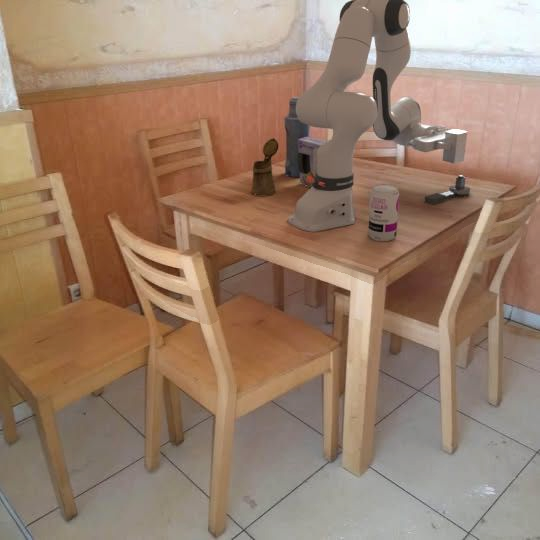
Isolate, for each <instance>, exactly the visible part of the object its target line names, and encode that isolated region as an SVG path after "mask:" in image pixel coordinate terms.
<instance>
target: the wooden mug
mask: <svg viewBox="0 0 540 540" xmlns="http://www.w3.org/2000/svg"><path fill="white" fill-rule="evenodd" d="M278 150H279V143H278V140H277V139H275V138H274V137H273V138H271V139H268V141H266V142H265V143H264V145H263V147H262V153H263V155H264V159H263V160H257V161H254V162H253V166H252V172H253V176H252V187H251V192H252V193H253V194H256V195H255V196H257V195H269V196H271V195H270V194H272V195H274V194H276V192H277V191H276V186H275V182H274V176H273V166H272V157H273V156H275V155H276V154H277V152H278ZM275 191H276V192H275ZM252 193H251V194H252ZM273 193H274V194H273ZM253 194H252V195H253Z"/></svg>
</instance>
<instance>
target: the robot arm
mask: <svg viewBox="0 0 540 540" xmlns="http://www.w3.org/2000/svg"><path fill="white" fill-rule="evenodd" d="M410 18H411V10H410V6H409V4H408V2H407V1H406V0H349V1H347V2H345V3H344V5H343V6H342V8H341V9H340V12H339V18H338V19H339V22H338V23H339V24H338V25H337V29H336V32H335V34H334V37H333V38H334V39H333V42H332V45H331V50H330V53H329V56H328V57H329V58H328V61H327V63H326V66H325V68H324V71H323V73H322V74H321V75H320V77H319V78H318V80H316V82H315V83H314V84H313V85H312V86H310V87H309V88H308V89H307V90H305V91H304V92H302V93H301V94H299V96H298V97H299V98H298V100H297V104H296V114H297V117H298V119H299V120H300V122H302V123H304V124H307V125H310V127H313V128H319V129H321V128H322V129H329V130H332V137H331V139H329V140H326V141H325V143H323V144H322V145H321V146H320V147H319V149H318V151H317V173H316V175H315V177H314V178H313V177H310V176H308V177H307V178H306V180H307V182H308V183H311V184H312V183H313V184H312V187H311V188H310V187H309V189H308V190H307V191H306V192H305V194H303V195H302V196H301V198H299V199H298V200H297V202H296V204H295V209H294V214H291V215H289V216H287V222H288V224H290V225H291V226H293V227H295V228H298V229H300V230H303V231H306V232H312V233H313V232H314V233H315V232H320V231H326V230H330V229H336V228H340V227H346V226H350V225H354V224H355V223H356V220H355V219H356V218H357V214H356V210H355V206H354V205H355V204H354V197H353V196H354V195H353V186H354V182H355V181H354V172H353V166H354V165H353V164H354V153H355V148H356V145H357V143H358V141H359V139H360V138H361V137H362V135H363V134H364V133H365V132H367V131H368V130H370V129H371V128H373V132H374V134H375V135H376V137H377V138H378V139H380V140H383V141H391V142H392V143H395V144H397V145H399V146H402V147H406V148H408V147H411V148H412V149H414V150H416V151H417V152H418V151H419V152H422V153H430V152H433V151H436V150H444V149H447V150H449V149H452V144H450V143H444V141H445V132H446V131H450V130H454V129H452V128H446V126H444V125H429V124H428V125H427V124H422V123H421V122H422V113H421V107H420V104H419V102H418V101H417V100H416V99H415V98H412V97H410V96H403V97H400V98H399V99H398V100H397V101H395V102H394V103H392V99H391V98H392V97H391V91H392V89H393V85H394V83H395V82H396V80H397V78H398V77H399V75H400V74H401V73H402V72H403V70H404V69H405V68H406V67H407V65H408V63H409V61H410V59H411V55H412V54H411V53H412V49H411V40H410V34H409V29H408V26H409V23H410ZM373 39H374V47H375V55H376V58H375V59H376V60H375V65H374V66H375V67H374V71H373V74H372V96H370V95H367V94H364V93H361V92H357V91H355V92H354V91H345V90H346V89H347V88H348V87H349V86H350V85H352V84H353V83H356V82H357V81H359V80H360V79H361V78H362V77H363V75H364V74H365V70H366V66H367V63H368V57H369V55H370V54H369V53H370V50H371V46H372V42H373Z"/></svg>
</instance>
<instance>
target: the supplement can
mask: <svg viewBox="0 0 540 540" xmlns="http://www.w3.org/2000/svg"><path fill="white" fill-rule="evenodd" d="M399 205H400V192H399V189H398V186H396V185H392V184H387V183H386V184H385V183H381V184H376V185H373V186H372V189H371V190H370V192H369V207H368V208H369V209H368V229H367V236H368V237H369V238H370V239H371V240H374V241H376V242H389V241H390V240H391V241H393V240H394V239H395V238H396V237H397V235H398V223H399V222H398V219H399V207H400V206H399Z"/></svg>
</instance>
